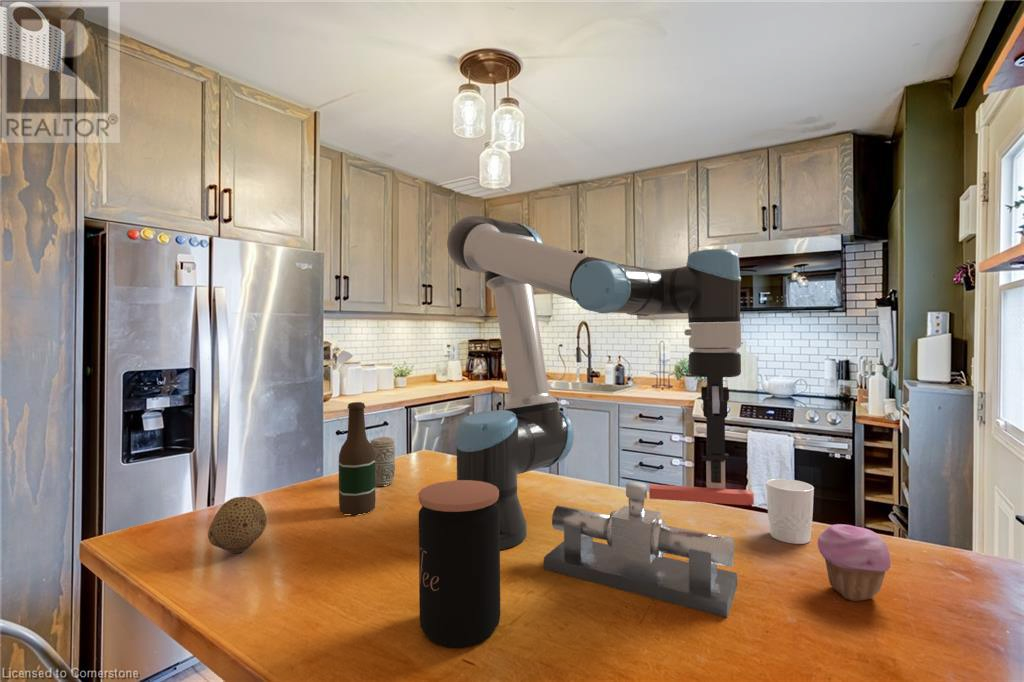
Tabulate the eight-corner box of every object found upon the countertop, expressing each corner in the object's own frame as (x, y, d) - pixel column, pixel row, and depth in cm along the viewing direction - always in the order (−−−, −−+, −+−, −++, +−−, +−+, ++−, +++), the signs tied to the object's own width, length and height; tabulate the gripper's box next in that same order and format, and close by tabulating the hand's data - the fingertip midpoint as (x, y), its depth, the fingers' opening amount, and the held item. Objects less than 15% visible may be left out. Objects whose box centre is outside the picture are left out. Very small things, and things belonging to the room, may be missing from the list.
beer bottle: (382, 508, 112) (381, 401, 112) (355, 519, 106) (354, 406, 106) (359, 502, 117) (358, 399, 116) (331, 512, 110) (330, 403, 110)
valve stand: (544, 569, 82) (543, 493, 82) (569, 547, 91) (569, 478, 91) (727, 617, 68) (726, 525, 68) (737, 586, 76) (736, 504, 76)
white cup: (821, 547, 90) (820, 492, 90) (773, 544, 91) (773, 489, 91) (804, 530, 97) (804, 479, 97) (761, 527, 99) (760, 477, 99)
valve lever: (625, 498, 78) (625, 487, 78) (626, 492, 81) (626, 481, 81) (756, 507, 73) (756, 495, 73) (751, 500, 77) (751, 488, 77)
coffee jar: (423, 607, 71) (422, 481, 71) (498, 602, 72) (497, 478, 72) (415, 654, 60) (413, 506, 60) (503, 649, 61) (501, 503, 61)
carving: (382, 489, 126) (382, 442, 126) (362, 485, 130) (362, 439, 130) (401, 483, 131) (400, 438, 131) (381, 479, 136) (380, 435, 136)
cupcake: (806, 579, 78) (806, 515, 78) (863, 579, 78) (863, 515, 78) (842, 610, 69) (842, 538, 69) (906, 611, 69) (906, 539, 69)
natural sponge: (275, 552, 90) (274, 497, 90) (220, 569, 83) (219, 510, 83) (256, 538, 96) (255, 487, 96) (203, 553, 89) (203, 498, 89)
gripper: (689, 348, 85) (691, 486, 85) (687, 352, 73) (689, 512, 73) (737, 348, 82) (739, 490, 83) (744, 352, 70) (745, 518, 71)
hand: (715, 501), depth 78 cm, fingers closed
